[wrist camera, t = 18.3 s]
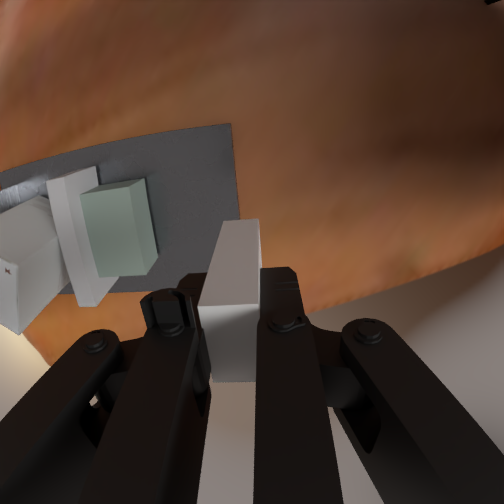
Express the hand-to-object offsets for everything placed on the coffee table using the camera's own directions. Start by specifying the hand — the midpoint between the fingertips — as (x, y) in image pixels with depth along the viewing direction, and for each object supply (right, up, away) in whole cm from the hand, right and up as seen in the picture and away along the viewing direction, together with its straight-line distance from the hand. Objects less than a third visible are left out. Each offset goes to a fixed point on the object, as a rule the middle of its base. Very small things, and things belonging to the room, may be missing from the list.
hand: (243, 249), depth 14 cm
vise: (-15, +3, +17) cm, 23 cm away
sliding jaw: (-13, +3, +16) cm, 21 cm away
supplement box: (-21, +2, +17) cm, 27 cm away
